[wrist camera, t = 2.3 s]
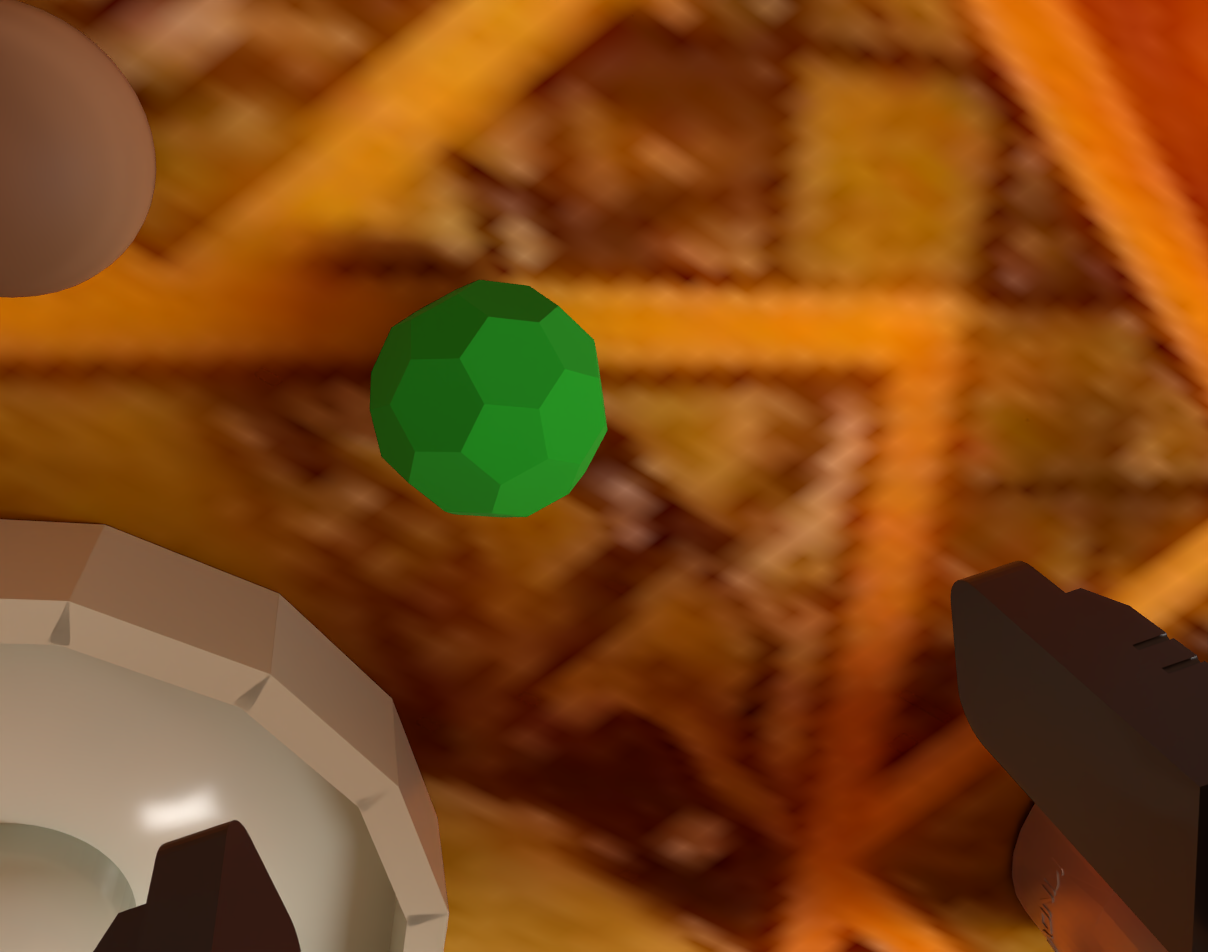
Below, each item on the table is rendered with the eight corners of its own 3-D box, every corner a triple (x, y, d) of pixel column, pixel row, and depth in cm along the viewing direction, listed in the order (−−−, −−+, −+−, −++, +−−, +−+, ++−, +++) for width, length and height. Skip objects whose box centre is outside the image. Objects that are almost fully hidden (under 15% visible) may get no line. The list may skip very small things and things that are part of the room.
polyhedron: (346, 284, 23) (346, 342, 19) (564, 242, 24) (613, 290, 19) (396, 488, 25) (407, 583, 21) (596, 444, 26) (646, 528, 21)
